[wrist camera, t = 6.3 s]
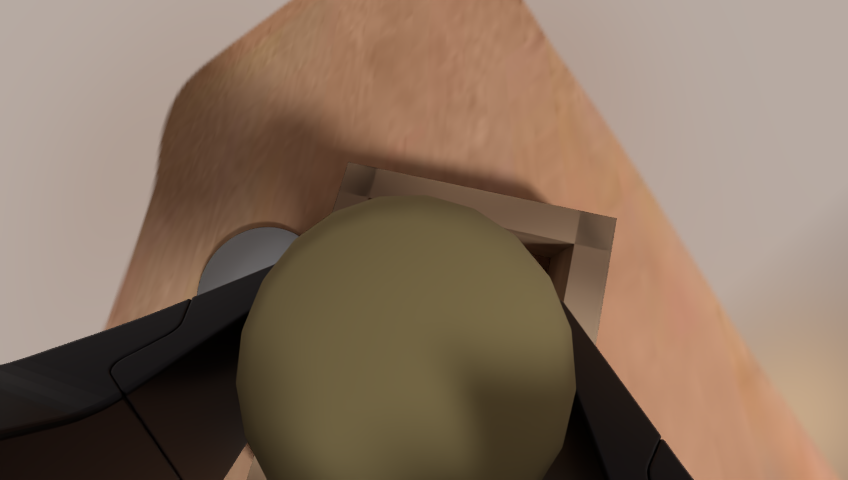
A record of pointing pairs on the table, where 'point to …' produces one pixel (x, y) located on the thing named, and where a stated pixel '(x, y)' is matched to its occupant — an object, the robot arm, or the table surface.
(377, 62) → the table surface
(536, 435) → the olive knobbed peg
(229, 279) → the slate pad
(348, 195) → the brown wooden rectangular frame
